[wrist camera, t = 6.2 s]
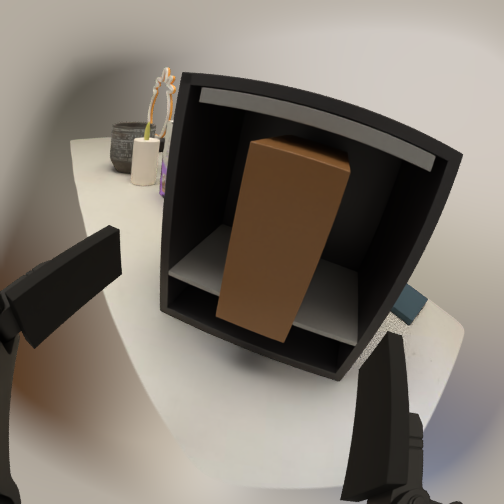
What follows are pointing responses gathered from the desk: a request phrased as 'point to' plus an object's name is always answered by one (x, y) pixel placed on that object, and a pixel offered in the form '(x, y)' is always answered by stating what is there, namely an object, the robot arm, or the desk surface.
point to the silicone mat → (408, 304)
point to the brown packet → (280, 231)
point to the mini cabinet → (343, 229)
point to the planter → (126, 143)
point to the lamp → (169, 80)
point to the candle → (145, 159)
